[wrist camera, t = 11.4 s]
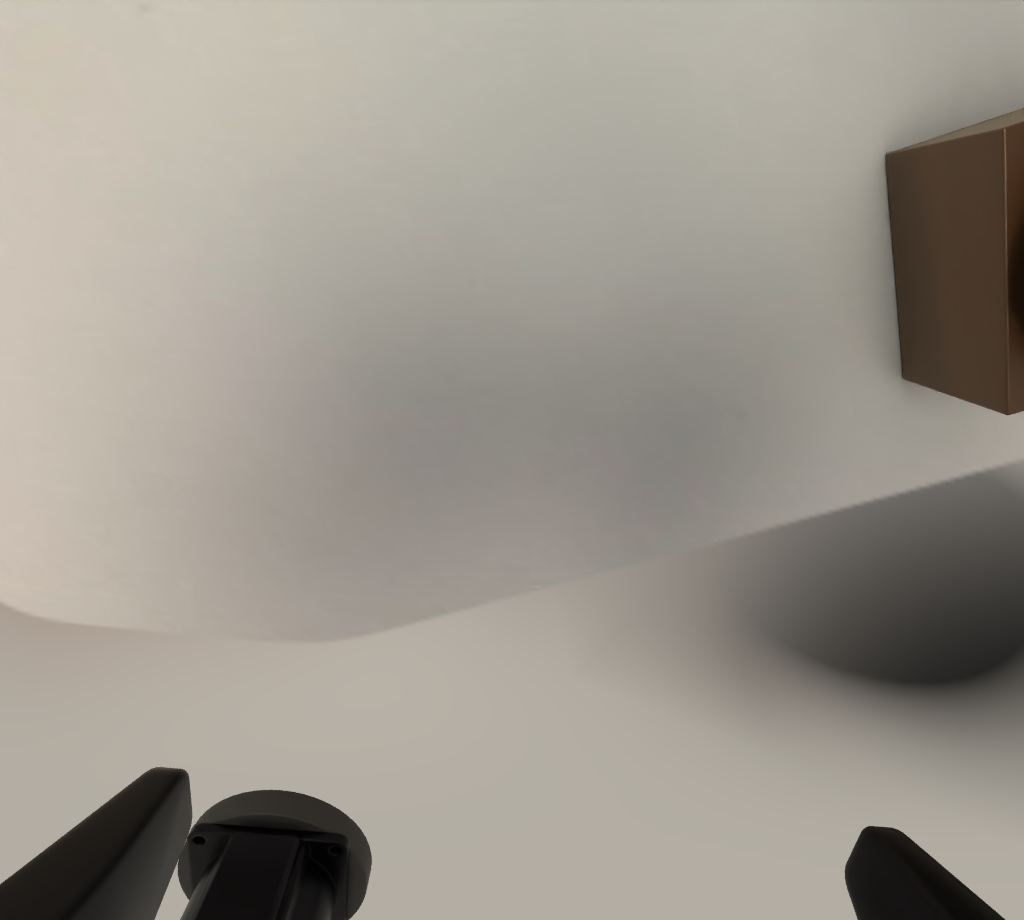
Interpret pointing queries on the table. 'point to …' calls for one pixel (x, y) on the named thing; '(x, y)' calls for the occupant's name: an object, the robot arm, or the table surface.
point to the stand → (962, 261)
